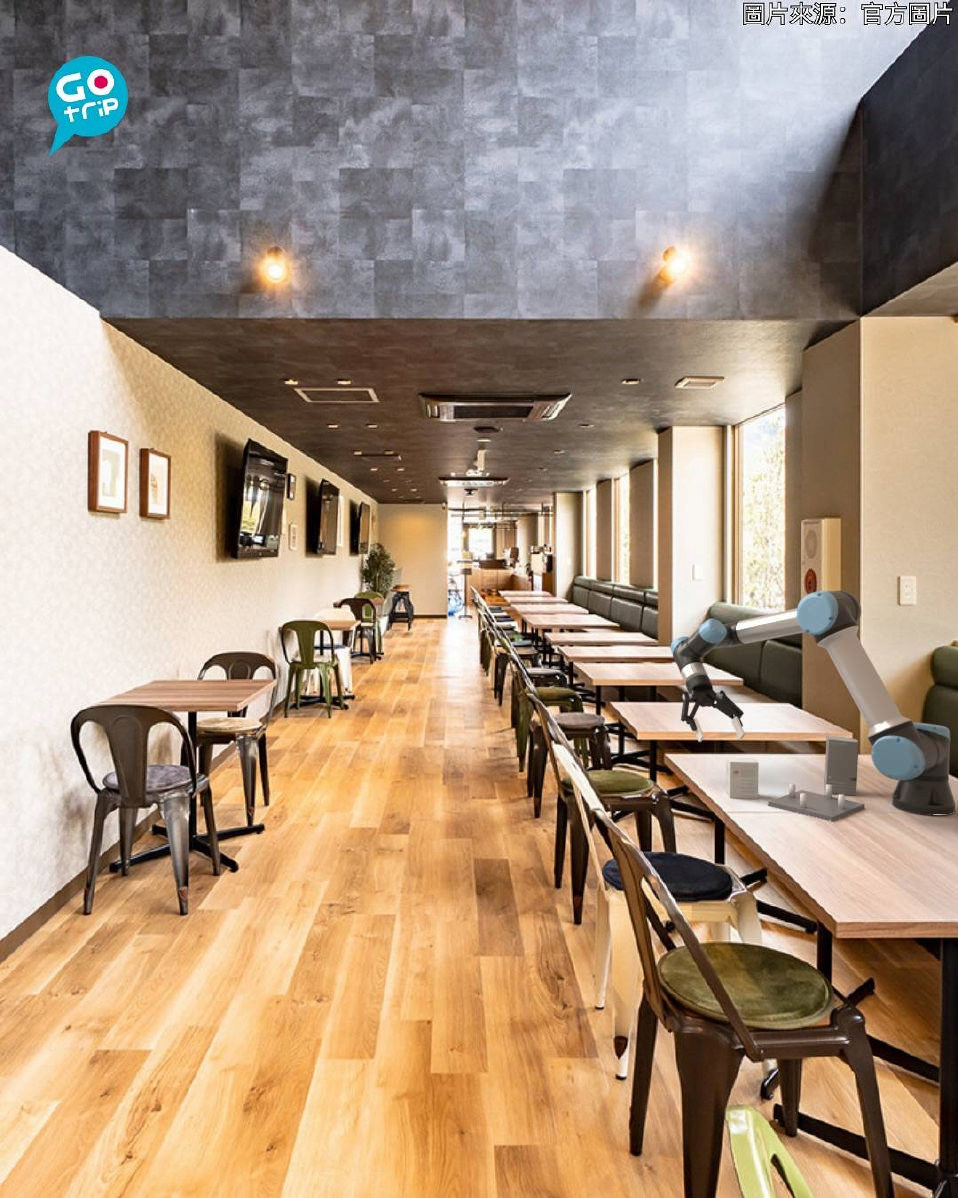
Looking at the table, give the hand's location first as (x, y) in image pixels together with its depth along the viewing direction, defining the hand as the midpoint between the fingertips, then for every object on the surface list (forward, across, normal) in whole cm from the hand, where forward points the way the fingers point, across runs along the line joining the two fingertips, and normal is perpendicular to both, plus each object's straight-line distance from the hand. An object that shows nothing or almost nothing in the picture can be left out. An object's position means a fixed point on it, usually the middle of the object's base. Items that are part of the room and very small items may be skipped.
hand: (722, 738), depth 246 cm
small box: (+18, 0, -3) cm, 18 cm away
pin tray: (+28, -14, +8) cm, 32 cm away
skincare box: (+20, -30, 0) cm, 37 cm away
